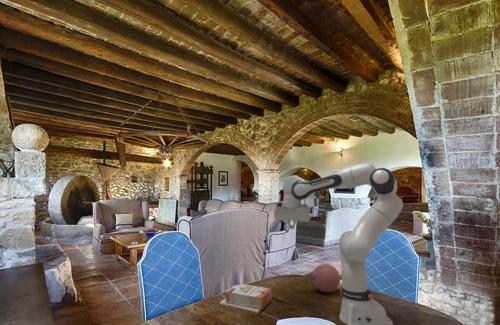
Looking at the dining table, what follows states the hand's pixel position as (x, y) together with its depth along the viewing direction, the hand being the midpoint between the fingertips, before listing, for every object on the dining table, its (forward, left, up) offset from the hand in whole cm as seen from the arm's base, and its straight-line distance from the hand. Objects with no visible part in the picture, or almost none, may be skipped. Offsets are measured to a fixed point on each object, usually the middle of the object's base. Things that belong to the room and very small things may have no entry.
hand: (291, 228), depth 157 cm
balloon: (-13, -15, -37) cm, 42 cm away
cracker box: (+7, +17, -33) cm, 38 cm away
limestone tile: (+20, +17, -37) cm, 45 cm away
